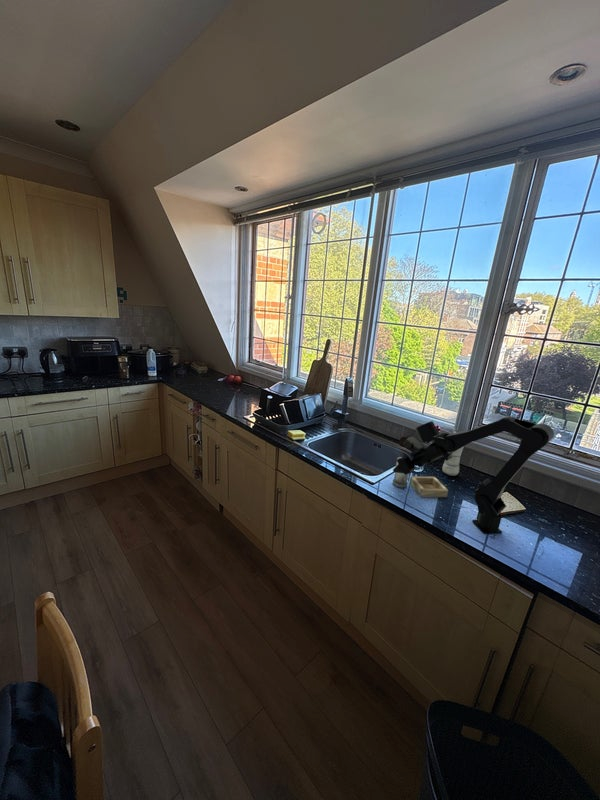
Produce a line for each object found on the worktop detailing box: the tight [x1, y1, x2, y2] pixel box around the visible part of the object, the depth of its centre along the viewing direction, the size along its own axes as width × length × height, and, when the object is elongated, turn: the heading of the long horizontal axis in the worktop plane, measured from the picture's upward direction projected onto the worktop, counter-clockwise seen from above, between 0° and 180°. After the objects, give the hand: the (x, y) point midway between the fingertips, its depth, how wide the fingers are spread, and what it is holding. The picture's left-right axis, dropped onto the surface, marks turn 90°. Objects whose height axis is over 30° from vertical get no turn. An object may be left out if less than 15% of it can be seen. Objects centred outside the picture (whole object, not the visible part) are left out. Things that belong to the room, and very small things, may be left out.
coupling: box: [392, 456, 409, 489], centre depth 129 cm, size 7×6×11 cm
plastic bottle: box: [442, 430, 465, 477], centre depth 140 cm, size 6×7×20 cm
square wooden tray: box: [409, 476, 449, 498], centre depth 128 cm, size 10×10×3 cm
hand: (399, 467), depth 130 cm, fingers open, 9 cm apart
